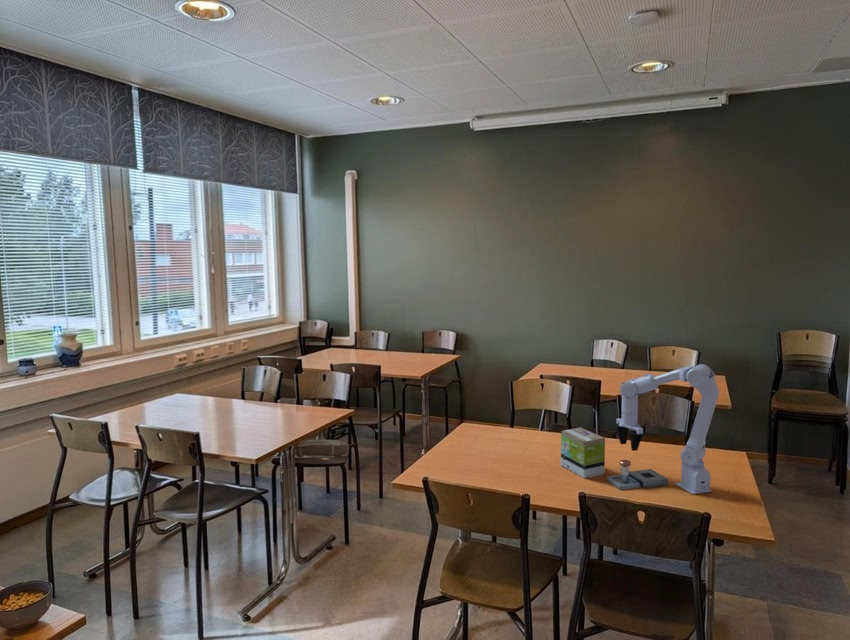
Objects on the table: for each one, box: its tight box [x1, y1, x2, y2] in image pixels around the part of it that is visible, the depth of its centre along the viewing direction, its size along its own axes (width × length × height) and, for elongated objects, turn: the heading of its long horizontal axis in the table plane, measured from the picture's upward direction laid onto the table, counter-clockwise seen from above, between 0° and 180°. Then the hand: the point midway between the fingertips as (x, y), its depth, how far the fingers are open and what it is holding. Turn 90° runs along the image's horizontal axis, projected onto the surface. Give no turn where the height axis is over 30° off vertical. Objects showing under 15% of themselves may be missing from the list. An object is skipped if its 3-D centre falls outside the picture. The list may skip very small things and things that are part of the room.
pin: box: [618, 459, 632, 484], centre depth 213 cm, size 4×4×8 cm
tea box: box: [560, 427, 606, 479], centre depth 227 cm, size 15×10×15 cm
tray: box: [606, 474, 641, 491], centre depth 213 cm, size 9×8×2 cm
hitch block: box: [629, 468, 669, 489], centre depth 215 cm, size 10×10×2 cm
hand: (628, 447), depth 222 cm, fingers open, 7 cm apart
